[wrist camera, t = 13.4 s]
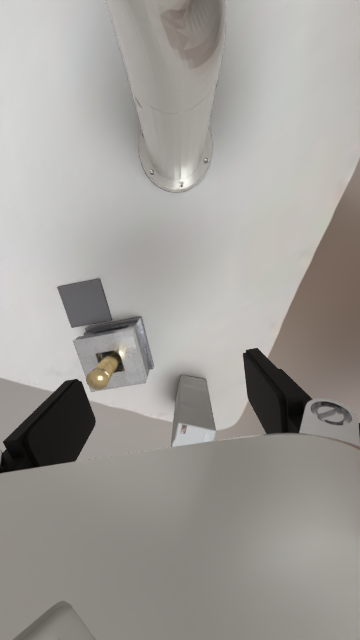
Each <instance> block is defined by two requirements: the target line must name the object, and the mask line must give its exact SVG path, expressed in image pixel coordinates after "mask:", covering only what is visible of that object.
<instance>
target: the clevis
mask: <svg viewBox="0 0 360 640" xmlns="http://www.w3.org/2000/svg"><path fill="white" fill-rule="evenodd" d="M85 329H86V332H85V333H84V336H81V337H78V338H76V339H75V340H73V343H74V346H75V348H76V351H77V354H78V357H79V359H80V362H81V365H82V368H83V371H84V373H85V376H86V377H87V375H88V373H89V372H90V371H91V370H93V369H95V367H96V366H97V365H98V364H99V363H100V362H101V360H102V359H103V358H104V357H105V356H106V355H107V354H108V352H109V351H113V350H119V352H120V356H121V359H122V360H121V362H120V363H119V365H118V367H117V368H116V370H115V371H114V373H113V374H112V376H111V377H110V380H109V383H108V384H107V386H106V387H105V388H103V389H101V390H106V389H112V388H118V387H124V386H130V385H136V384H142V383H146V380H147V376H148V373H149V370H150V369H153V366H154V365H153V361H152V357H151V353H150V349H149V345H148V341H147V337H146V333H145V329H144V325H143V320H142V317H138V318H132V319H127V320H121V321H116V322H111V323H105V324H100V325H94V326H89V327H87V328H85ZM89 387H90V386H89ZM90 390H91V392H94V391H100V390H96V389H93V388H91V387H90Z"/></svg>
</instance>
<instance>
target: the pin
mask: <svg viewBox="0 0 360 640" xmlns="http://www.w3.org/2000/svg"><path fill="white" fill-rule="evenodd" d="M121 360H122V359H121V356H120V352H119V350H113V351H109V352H108V354H107V355H106V356H105V357H104V358H103V359H102V360H101V362H100V363H99V364H98V365H97V366H96V367H95V369H93V370H91V371H90V372H89V373H88V375H87V377H86V382H87V384H88V385H89V386H90V387H91V388H93V389H96V390H101V389H103V388H105V387H106V386H107V384H108V383H109V380H110V377H111V376H112V374H113V373H114V371H115V370H116V368H117V367H118V365H119V363H120V362H121Z"/></svg>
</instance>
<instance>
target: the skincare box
mask: <svg viewBox="0 0 360 640" xmlns="http://www.w3.org/2000/svg"><path fill="white" fill-rule="evenodd" d="M215 434H216V428H215V423H214V418H213V413H212V408H211V402H210V397H209V392H208V386H207V381H206V379H201V378H196V377H191V376H186V375H181V377H180V381H179V386H178V391H177V396H176V401H175V410H174V420H173V431H172V440H171V447H175V446H182V445H189V444H196V443H203V442H210V441H214V438H215Z"/></svg>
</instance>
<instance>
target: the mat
mask: <svg viewBox="0 0 360 640" xmlns="http://www.w3.org/2000/svg"><path fill="white" fill-rule="evenodd" d="M57 288H58V290H59V293H60V296H61V299H62V302H63V305H64V307H65V310H66V313H67V316H68V319H69V322H70V324H71V327H72V328H73V327H79V326H84V325H89V324H95V323H100V322H106V321H111V320H112V318H111V314H110V311H109V308H108V304H107V301H106V297H105V294H104V290H103V287H102V284H101V280H100V279H95V280H90V281H84V282H79V283H74V284H69V285H64V286H59V287H57Z"/></svg>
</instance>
